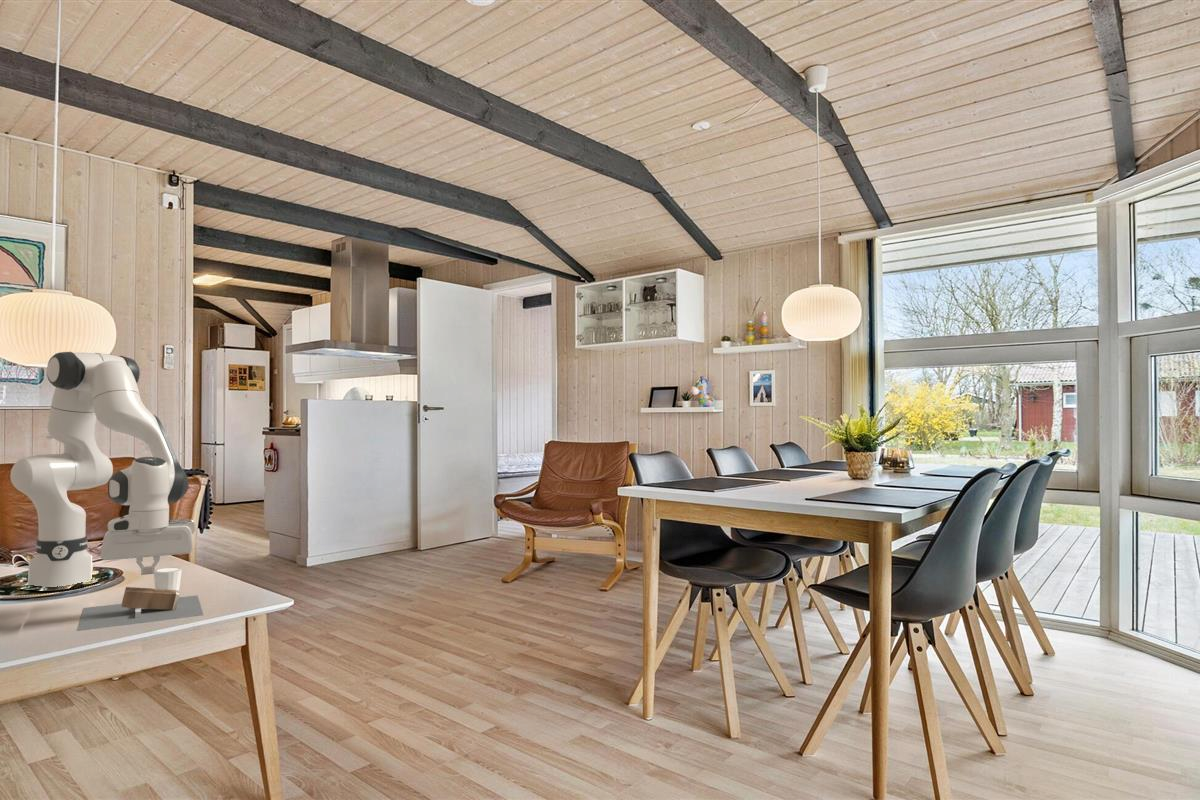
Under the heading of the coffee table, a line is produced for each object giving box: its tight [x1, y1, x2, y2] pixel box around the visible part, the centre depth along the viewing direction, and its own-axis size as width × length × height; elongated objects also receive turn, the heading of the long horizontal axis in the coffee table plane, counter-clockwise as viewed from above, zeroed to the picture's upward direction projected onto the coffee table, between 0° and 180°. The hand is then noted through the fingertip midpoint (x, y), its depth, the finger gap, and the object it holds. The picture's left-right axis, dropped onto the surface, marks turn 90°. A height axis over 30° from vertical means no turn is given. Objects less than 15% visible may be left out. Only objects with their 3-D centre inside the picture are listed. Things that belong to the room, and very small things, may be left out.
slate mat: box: [76, 594, 204, 632], centre depth 183 cm, size 22×26×2 cm
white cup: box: [153, 566, 183, 591], centre depth 202 cm, size 7×7×7 cm
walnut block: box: [121, 586, 180, 610], centre depth 184 cm, size 5×4×12 cm
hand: (147, 574), depth 183 cm, fingers closed
